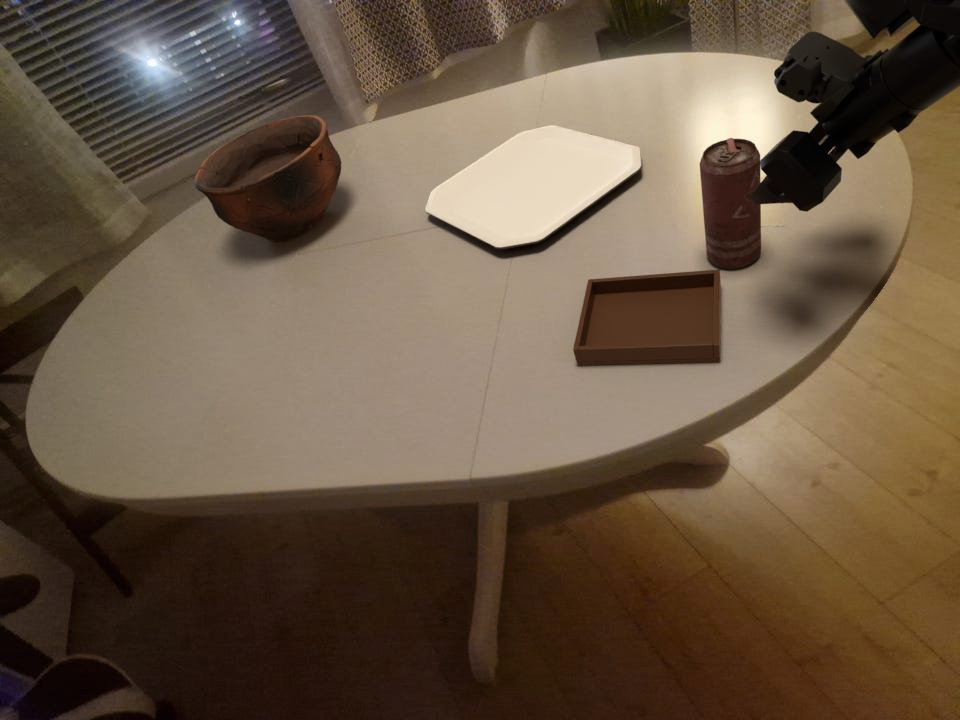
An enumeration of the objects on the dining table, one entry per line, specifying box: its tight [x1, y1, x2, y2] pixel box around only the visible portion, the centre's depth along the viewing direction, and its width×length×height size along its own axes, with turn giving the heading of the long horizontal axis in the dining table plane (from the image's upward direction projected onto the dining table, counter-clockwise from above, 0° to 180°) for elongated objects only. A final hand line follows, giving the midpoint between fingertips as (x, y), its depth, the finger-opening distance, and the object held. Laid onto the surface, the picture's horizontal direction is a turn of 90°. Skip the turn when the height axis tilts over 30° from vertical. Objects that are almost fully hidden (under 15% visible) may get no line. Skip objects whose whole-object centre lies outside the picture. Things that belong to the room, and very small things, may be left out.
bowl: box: [194, 114, 342, 243], centre depth 116 cm, size 25×25×15 cm
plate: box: [424, 124, 643, 250], centre depth 103 cm, size 29×29×2 cm
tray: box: [572, 269, 722, 367], centre depth 74 cm, size 15×12×3 cm
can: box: [699, 137, 762, 270], centre depth 74 cm, size 6×6×14 cm
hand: (776, 175), depth 68 cm, fingers open, 9 cm apart
